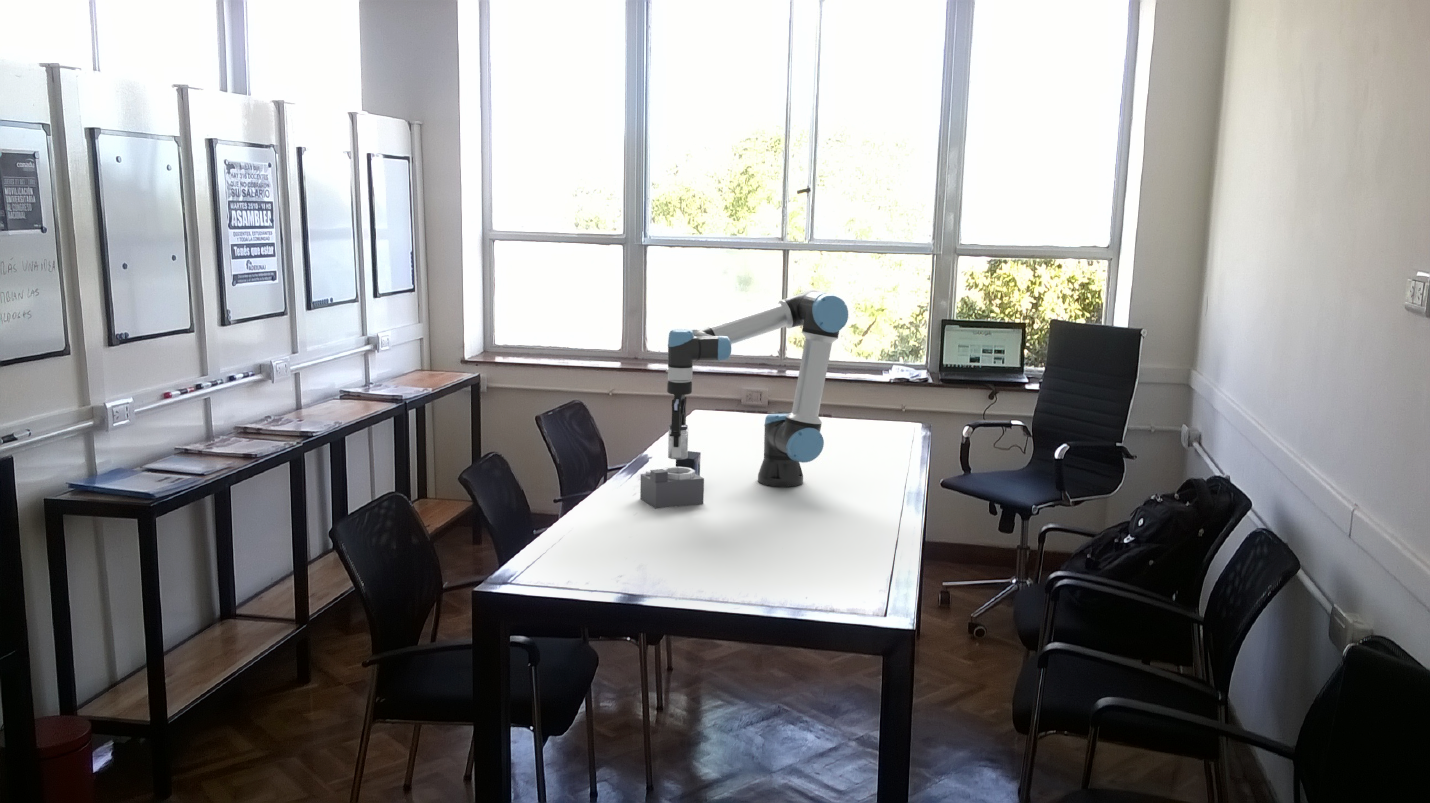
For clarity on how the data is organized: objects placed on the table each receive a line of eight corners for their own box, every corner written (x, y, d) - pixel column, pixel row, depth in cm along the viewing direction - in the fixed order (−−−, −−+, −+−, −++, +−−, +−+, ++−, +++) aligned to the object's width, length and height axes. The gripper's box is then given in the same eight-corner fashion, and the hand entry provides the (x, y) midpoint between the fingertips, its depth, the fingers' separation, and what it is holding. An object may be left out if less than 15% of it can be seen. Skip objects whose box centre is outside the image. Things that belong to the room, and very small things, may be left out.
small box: (693, 490, 354) (694, 458, 352) (674, 488, 355) (674, 457, 353) (700, 482, 364) (701, 451, 362) (681, 480, 365) (682, 450, 364)
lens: (688, 455, 341) (689, 424, 339) (685, 459, 335) (686, 427, 333) (669, 454, 342) (670, 423, 340) (666, 458, 336) (667, 426, 334)
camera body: (686, 494, 349) (687, 460, 347) (703, 503, 338) (704, 468, 336) (640, 498, 342) (640, 464, 340) (655, 508, 331) (656, 473, 329)
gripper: (672, 375, 344) (671, 447, 348) (662, 384, 325) (660, 460, 329) (696, 376, 343) (694, 448, 347) (687, 386, 324) (685, 462, 328)
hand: (678, 454), depth 338 cm, fingers closed on lens, 6 cm apart
